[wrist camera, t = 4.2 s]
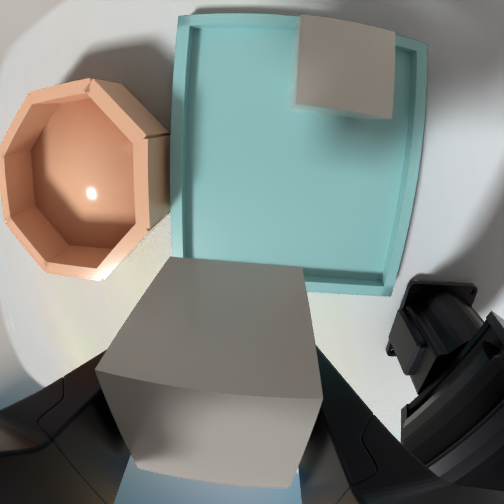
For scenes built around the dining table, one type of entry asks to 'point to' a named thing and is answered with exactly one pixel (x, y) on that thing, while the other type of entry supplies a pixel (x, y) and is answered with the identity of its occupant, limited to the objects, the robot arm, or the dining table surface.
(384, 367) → the dining table surface
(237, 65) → the tray
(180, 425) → the cube
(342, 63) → the grey cardboard cube
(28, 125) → the bowl
